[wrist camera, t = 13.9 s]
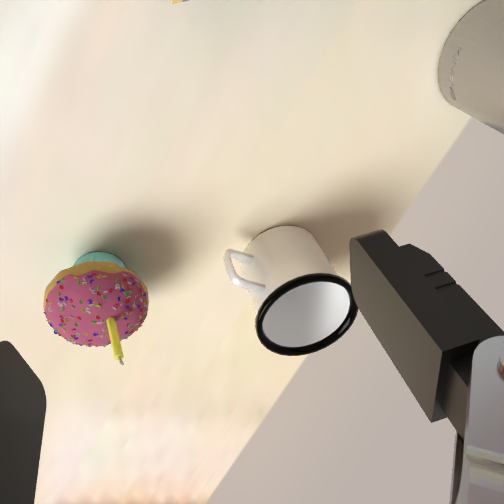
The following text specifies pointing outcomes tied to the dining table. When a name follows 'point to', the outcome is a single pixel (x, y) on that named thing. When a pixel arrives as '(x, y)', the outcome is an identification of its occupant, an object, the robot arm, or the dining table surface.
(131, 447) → the dining table surface
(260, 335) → the mug
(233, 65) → the dining table surface
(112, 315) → the cupcake
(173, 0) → the dock
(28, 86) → the dining table surface
